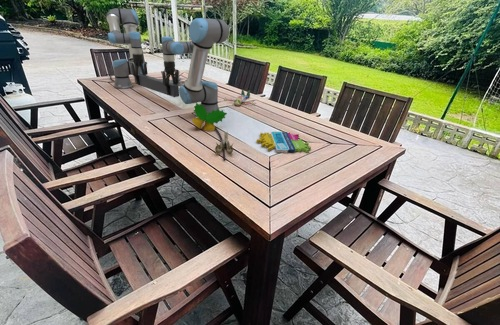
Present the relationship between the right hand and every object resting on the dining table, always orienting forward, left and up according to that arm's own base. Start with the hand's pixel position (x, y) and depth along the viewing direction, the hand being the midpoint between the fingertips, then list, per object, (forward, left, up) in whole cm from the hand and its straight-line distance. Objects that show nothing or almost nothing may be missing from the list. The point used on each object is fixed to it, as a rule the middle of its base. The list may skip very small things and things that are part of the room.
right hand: (172, 94), depth 194 cm
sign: (-74, -60, -9) cm, 95 cm away
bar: (+16, +12, -1) cm, 20 cm away
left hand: (+33, +24, 0) cm, 40 cm away
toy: (+10, -56, -9) cm, 58 cm away
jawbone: (-79, -25, -9) cm, 84 cm away
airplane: (+66, -2, -9) cm, 67 cm away
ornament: (-47, -21, -9) cm, 52 cm away
